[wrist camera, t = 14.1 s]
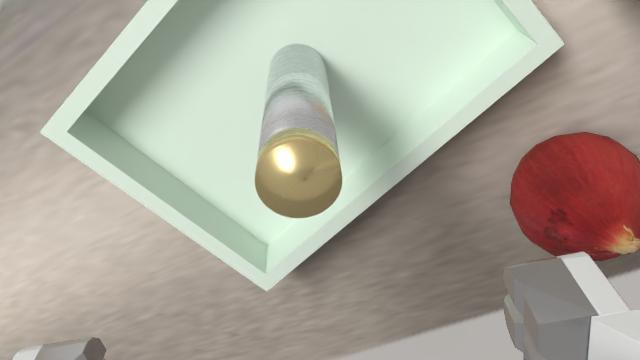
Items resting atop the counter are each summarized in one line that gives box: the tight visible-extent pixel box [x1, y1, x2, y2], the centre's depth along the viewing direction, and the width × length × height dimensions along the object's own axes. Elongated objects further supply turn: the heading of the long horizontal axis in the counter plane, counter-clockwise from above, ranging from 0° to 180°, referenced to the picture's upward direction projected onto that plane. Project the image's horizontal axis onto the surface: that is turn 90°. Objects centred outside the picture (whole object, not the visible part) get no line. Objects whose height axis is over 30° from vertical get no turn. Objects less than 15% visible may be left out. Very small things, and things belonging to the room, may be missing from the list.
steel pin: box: [255, 44, 342, 218], centre depth 21 cm, size 3×3×10 cm
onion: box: [510, 132, 640, 261], centre depth 25 cm, size 6×6×8 cm
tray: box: [40, 0, 564, 291], centre depth 24 cm, size 18×13×3 cm
